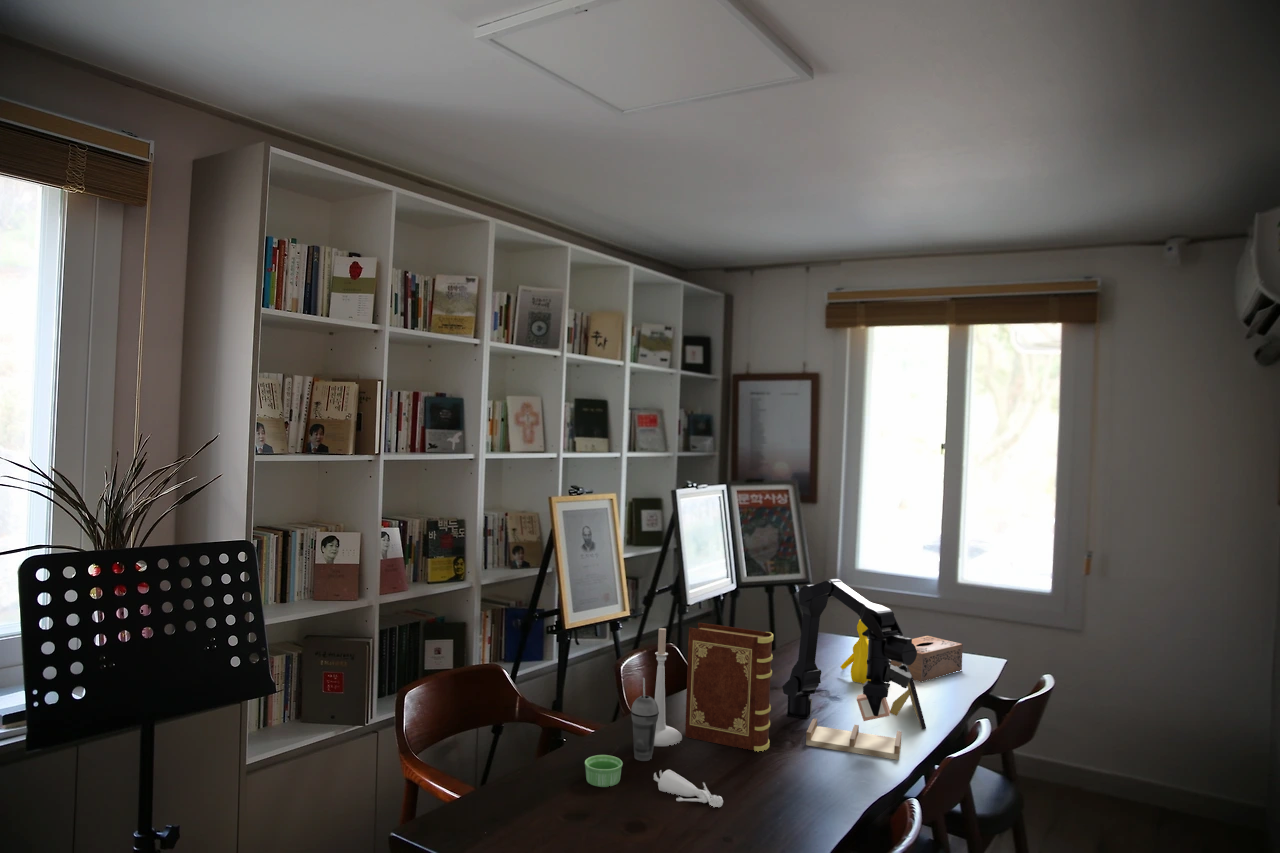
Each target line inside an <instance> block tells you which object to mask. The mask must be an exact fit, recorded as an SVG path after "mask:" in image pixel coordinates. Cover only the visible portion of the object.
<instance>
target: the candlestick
mask: <svg viewBox="0 0 1280 853" xmlns="http://www.w3.org/2000/svg"><path fill="white" fill-rule="evenodd" d="M666 637H667V628H666V627H665V628H663V627H661V628H658V638H657V639H658V640H657V651H656V652H655V653H654V654H655V655H656V659H655V660H656V661H657V667H656V668H657V669H656V678H655V679H656V681H655V690H654V700H655V701H656V703H657V705H658V711H659V714H658V720H657V723H656V731H655V740H654V747H669V745H671V746H674V744H675V745H678V744H680V743H681V742H680V741H683V735H682V733H681V732H680V731H678V730H677V729H676V728H674V727H672V726H669V725H667V724H666V684H665V683H666V682H665V681H666V680H665V679H666V676H665V675H666V674H665V668H666V667H665V661H667V656H668V655H669V653H668V652H666V641H667V640H666V639H667V638H666ZM677 743H678V744H677Z"/></svg>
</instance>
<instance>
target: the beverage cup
mask: <svg viewBox="0 0 1280 853" xmlns="http://www.w3.org/2000/svg"><path fill="white" fill-rule="evenodd" d="M630 714H631V722H632V734H633V735H632V736H633V737H632V738H633V739H632V740H633V753H634V759H635V760H637V761H641V762H647V761H651V760H652V759H653V754H654V748H655V746H654V740H655V731H656V723H657V720H658V714H659V711H658V705H657V703H656V701H655V698H653V697H652V696H650V695H646V679H645V677H642V695H640V696H639V697H637V698H636V699H635V700H634V701H633V702H632V705H631V709H630ZM650 759H651V760H650Z"/></svg>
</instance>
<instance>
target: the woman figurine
mask: <svg viewBox="0 0 1280 853" xmlns="http://www.w3.org/2000/svg"><path fill="white" fill-rule="evenodd" d="M653 780H654V781H655V782H657V786H658V790H659V791H660V792H663V793H666V792H667V794H670V793H671V795H674V794H676V795H675V796H678V797H676V799H675V800H676V802H696V803H697V802H699V803H703V804H706V803H708V805H709V806H710V805H711V806H713V807H712V808H715V807H718V808H721V807H722V806H723V804H724V800H723V797H722V796H720V795H717V794H711V792H710V791H709V789H708V787H707V786H706V782H702V787H703V789H700V788H698V787H697V786H696V785H695V784H693V783H692V782H690V781H689V780H687V779H686V778H685V777H683V776H681V775H680V774H678V773H676V772H675V771H674V770H672V769H670V768H669V769H666V770H665V771H663V772H662V769H660V770H659V777H658V775H657V772H654V773H653ZM679 795H680V796H679ZM683 797H686V798H683ZM694 797H697V798H694ZM711 806H710V807H711Z"/></svg>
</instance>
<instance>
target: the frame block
mask: <svg viewBox="0 0 1280 853" xmlns="http://www.w3.org/2000/svg"><path fill="white" fill-rule="evenodd" d="M856 702H857V705H858V708H859V712H860V714H861V717H862V720H863V721H862V722H866V721H872V720H876V719H881V718H884V717H889V716H890V715H891V713H890V710H891V708H890V706H889V703H888V701H887V697H884V698H883V699H882V701H881V705H880V710H879V714H878V716H874V715H873V712H872V710H871V707H870V704H869V702H868V699H867V697H866V695H864V694H863V693H861V694H857V696H856Z"/></svg>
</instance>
